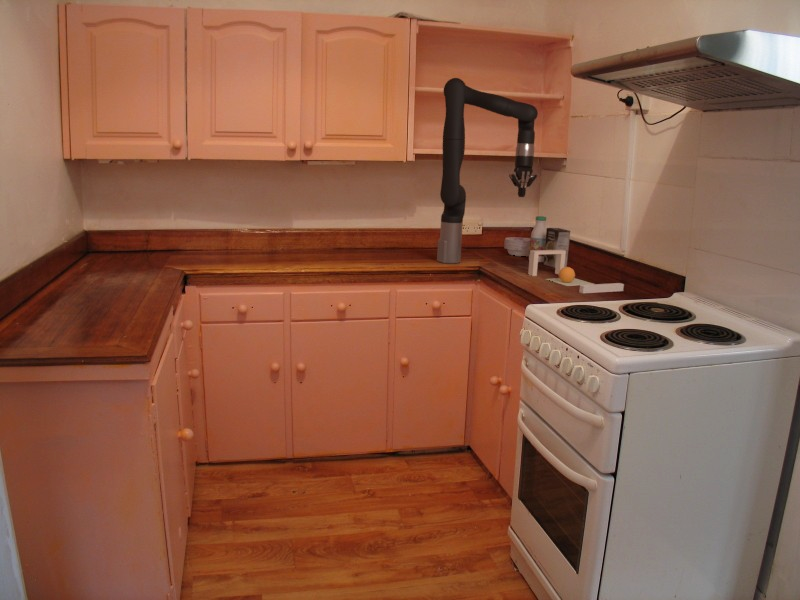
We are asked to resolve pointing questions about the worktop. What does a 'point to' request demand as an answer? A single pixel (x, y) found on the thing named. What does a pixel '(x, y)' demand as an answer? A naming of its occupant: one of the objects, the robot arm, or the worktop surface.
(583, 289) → the stopper strip
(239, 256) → the worktop surface
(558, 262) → the bridge
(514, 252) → the paper bowls
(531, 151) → the robot arm
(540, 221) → the milk bottle
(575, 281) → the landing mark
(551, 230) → the coffee box
